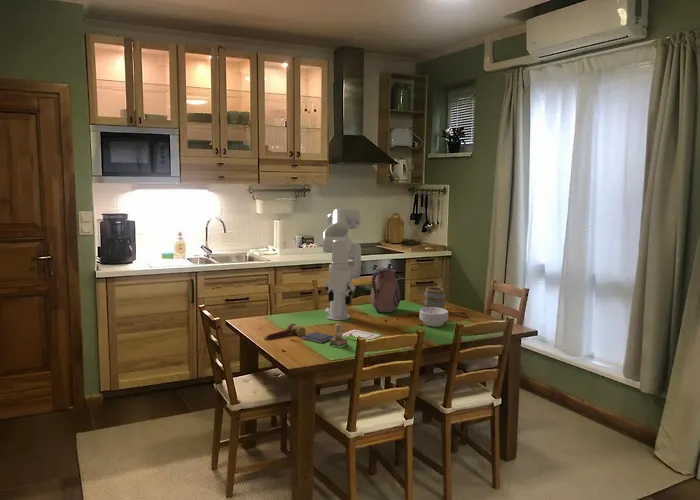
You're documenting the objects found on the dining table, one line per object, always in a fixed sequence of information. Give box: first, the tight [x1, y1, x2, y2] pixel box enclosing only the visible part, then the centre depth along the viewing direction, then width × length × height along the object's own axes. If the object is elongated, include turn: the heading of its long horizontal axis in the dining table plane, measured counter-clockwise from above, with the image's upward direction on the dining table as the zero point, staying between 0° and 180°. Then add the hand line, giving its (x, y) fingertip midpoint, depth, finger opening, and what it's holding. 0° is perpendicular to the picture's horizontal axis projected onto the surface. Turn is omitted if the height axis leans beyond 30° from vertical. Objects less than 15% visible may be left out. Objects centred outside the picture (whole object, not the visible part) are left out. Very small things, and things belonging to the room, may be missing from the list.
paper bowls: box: [418, 306, 449, 328], centre depth 303 cm, size 15×15×8 cm
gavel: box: [263, 323, 307, 341], centre depth 278 cm, size 21×5×10 cm
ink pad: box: [301, 331, 335, 344], centre depth 275 cm, size 12×10×2 cm
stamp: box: [329, 323, 349, 347], centre depth 264 cm, size 6×6×10 cm
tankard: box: [423, 283, 446, 309], centre depth 334 cm, size 20×13×15 cm, turn 150°
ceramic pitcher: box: [369, 267, 401, 313], centre depth 329 cm, size 18×21×25 cm
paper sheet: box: [342, 328, 381, 340], centre depth 280 cm, size 16×15×1 cm
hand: (339, 302), depth 262 cm, fingers open, 9 cm apart
